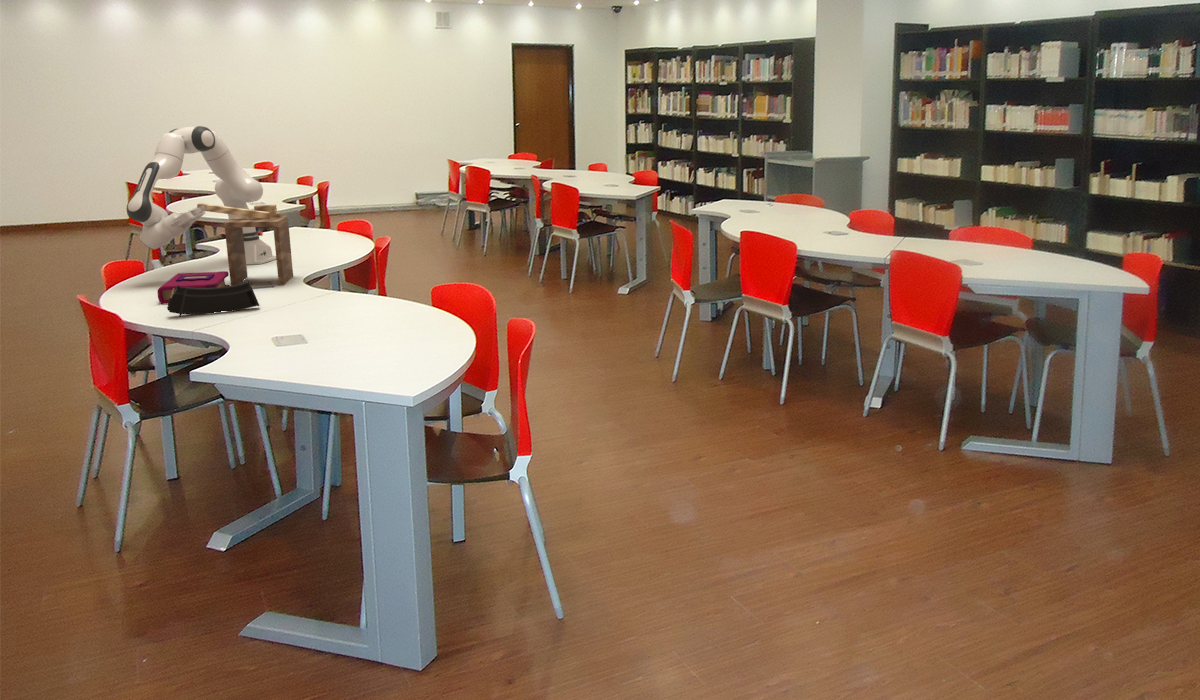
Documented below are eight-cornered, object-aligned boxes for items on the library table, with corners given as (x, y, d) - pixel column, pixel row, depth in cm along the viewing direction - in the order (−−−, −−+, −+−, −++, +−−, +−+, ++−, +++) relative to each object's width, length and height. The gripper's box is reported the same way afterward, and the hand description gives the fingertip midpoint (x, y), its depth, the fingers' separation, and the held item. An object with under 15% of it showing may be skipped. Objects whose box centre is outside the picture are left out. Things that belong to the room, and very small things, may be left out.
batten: (196, 210, 391) (197, 203, 391) (199, 209, 394) (199, 203, 393) (268, 219, 395) (268, 213, 394) (269, 218, 398) (270, 212, 397)
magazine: (263, 282, 353) (175, 266, 338) (264, 284, 350) (176, 267, 336) (253, 327, 355) (166, 313, 341) (254, 329, 353) (166, 314, 338)
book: (158, 305, 361) (156, 285, 359) (176, 290, 388) (173, 271, 386) (218, 302, 365) (215, 282, 363) (230, 288, 391) (228, 269, 389)
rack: (230, 286, 393) (222, 210, 385) (242, 277, 411) (235, 205, 403) (283, 285, 395) (276, 209, 387) (293, 276, 413) (286, 204, 405)
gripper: (164, 220, 382) (193, 202, 382) (180, 213, 402) (208, 196, 401) (174, 233, 384) (203, 215, 383) (190, 226, 404) (217, 209, 403)
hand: (206, 205), depth 393 cm, fingers closed on batten, 3 cm apart
